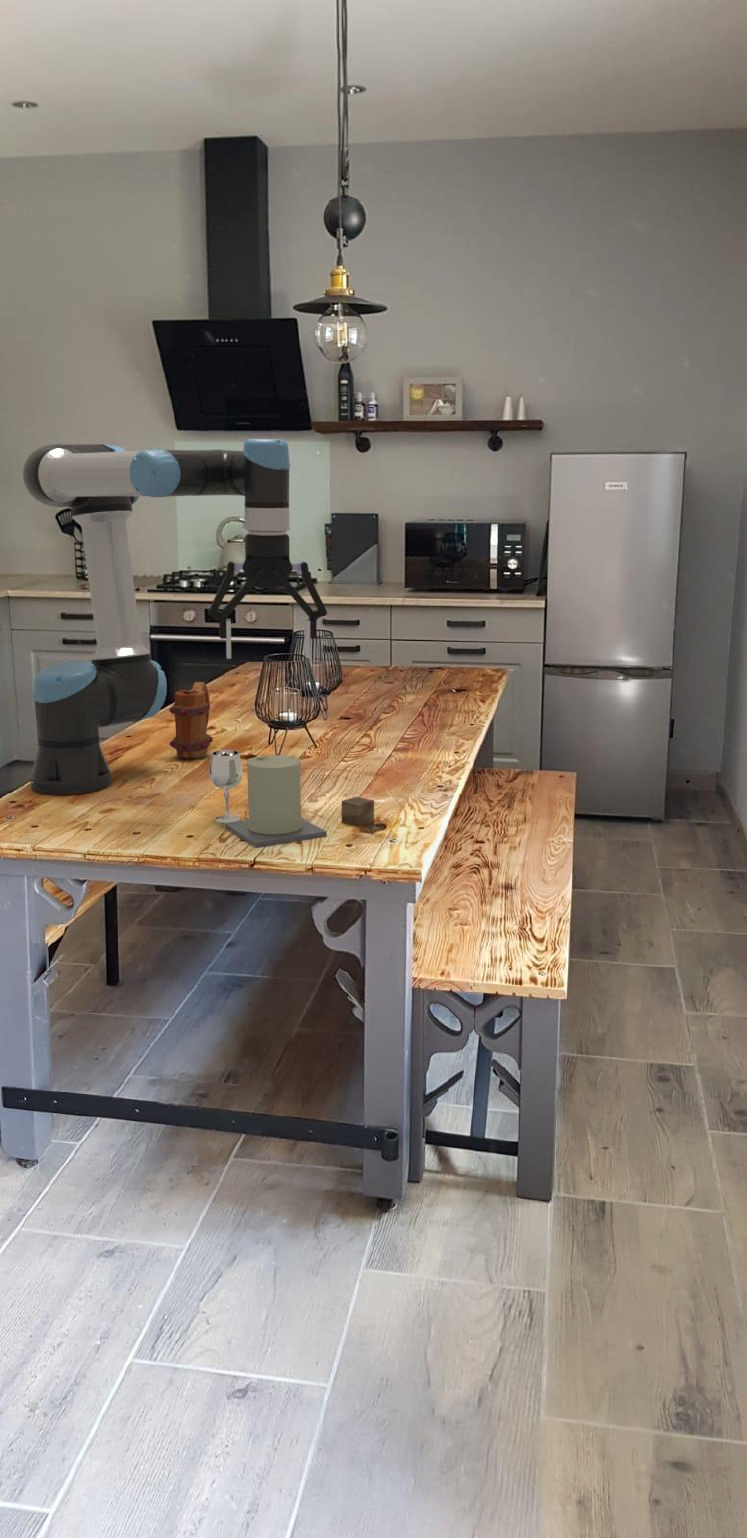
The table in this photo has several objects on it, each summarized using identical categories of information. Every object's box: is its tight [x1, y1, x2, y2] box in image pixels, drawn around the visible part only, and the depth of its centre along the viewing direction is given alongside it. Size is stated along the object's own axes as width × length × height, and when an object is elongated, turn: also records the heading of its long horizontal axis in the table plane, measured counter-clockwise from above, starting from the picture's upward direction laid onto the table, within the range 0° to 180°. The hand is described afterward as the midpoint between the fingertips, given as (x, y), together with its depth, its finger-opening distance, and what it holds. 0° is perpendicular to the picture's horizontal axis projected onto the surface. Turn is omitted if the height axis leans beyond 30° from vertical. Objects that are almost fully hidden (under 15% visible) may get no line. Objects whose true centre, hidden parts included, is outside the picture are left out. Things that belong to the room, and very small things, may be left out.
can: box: [245, 754, 302, 835], centre depth 206 cm, size 9×9×12 cm
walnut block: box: [341, 796, 375, 828], centre depth 213 cm, size 4×4×4 cm
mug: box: [168, 681, 214, 760], centre depth 262 cm, size 15×8×15 cm, turn 168°
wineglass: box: [208, 749, 244, 824], centre depth 214 cm, size 6×6×12 cm
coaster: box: [223, 817, 327, 849], centre depth 208 cm, size 13×13×1 cm
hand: (268, 657), depth 213 cm, fingers open, 13 cm apart
